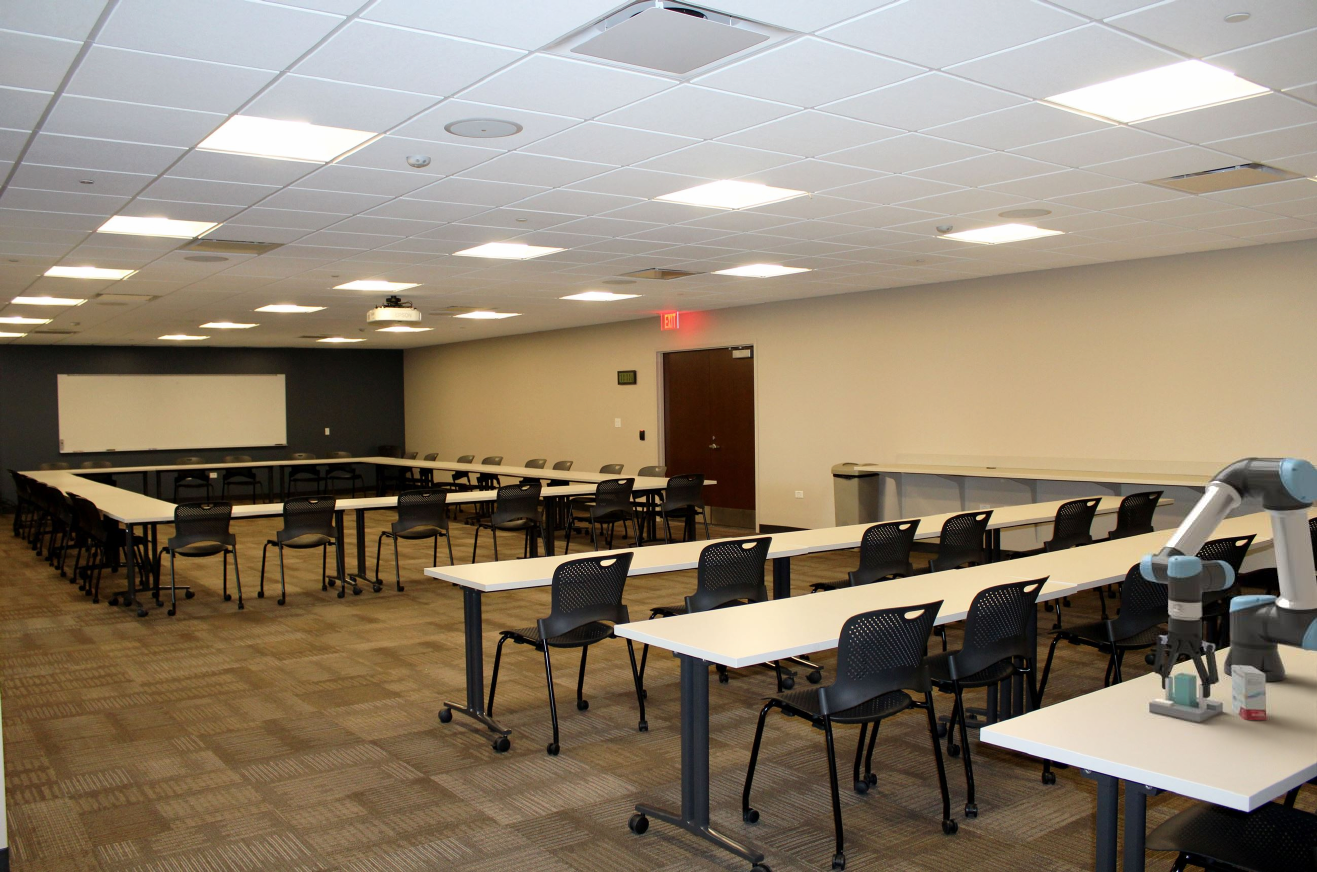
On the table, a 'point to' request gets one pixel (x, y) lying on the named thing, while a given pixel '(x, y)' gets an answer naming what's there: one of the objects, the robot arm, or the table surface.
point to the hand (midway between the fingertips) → (1185, 705)
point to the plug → (1185, 690)
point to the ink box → (1248, 692)
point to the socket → (1185, 710)
